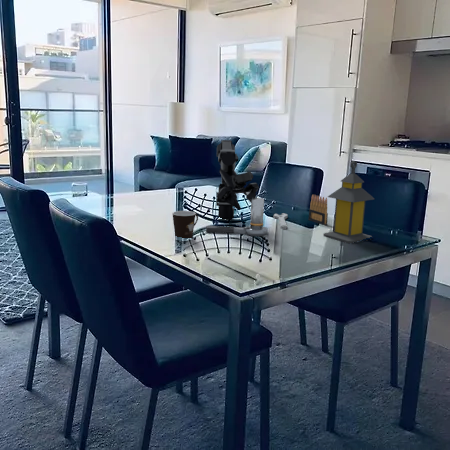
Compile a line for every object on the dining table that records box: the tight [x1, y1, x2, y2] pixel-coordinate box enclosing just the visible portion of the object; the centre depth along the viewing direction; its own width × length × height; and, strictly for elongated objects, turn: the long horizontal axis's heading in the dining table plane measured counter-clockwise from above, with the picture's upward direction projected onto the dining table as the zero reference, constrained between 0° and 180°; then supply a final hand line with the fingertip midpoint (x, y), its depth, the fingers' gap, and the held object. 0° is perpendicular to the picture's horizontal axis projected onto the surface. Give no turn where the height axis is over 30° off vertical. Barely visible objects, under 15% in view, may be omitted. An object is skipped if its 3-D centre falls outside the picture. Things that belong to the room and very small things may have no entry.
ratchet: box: [205, 225, 269, 237], centre depth 197 cm, size 24×9×2 cm, turn 86°
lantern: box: [323, 160, 375, 244], centre depth 192 cm, size 14×14×30 cm
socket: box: [249, 197, 265, 230], centre depth 196 cm, size 5×5×12 cm
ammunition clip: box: [308, 194, 329, 226], centre depth 218 cm, size 11×2×12 cm, turn 30°
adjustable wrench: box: [272, 212, 289, 230], centre depth 218 cm, size 25×6×2 cm, turn 173°
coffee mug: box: [172, 210, 199, 239], centre depth 186 cm, size 12×9×10 cm
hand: (248, 208), depth 199 cm, fingers open, 9 cm apart
